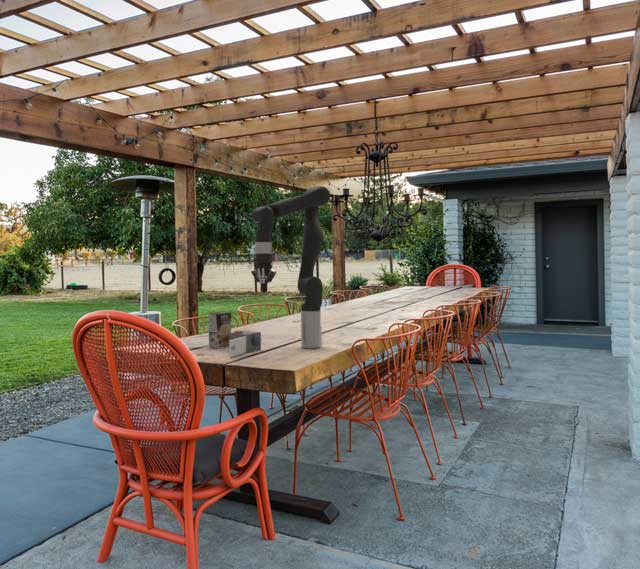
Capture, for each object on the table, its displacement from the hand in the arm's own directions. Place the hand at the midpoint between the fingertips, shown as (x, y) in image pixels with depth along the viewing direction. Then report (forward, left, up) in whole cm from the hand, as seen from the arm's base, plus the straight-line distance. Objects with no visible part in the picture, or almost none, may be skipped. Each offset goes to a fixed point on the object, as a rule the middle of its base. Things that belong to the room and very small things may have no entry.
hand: (264, 292), depth 246 cm
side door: (+10, -7, -27) cm, 29 cm away
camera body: (-2, -13, -27) cm, 30 cm away
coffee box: (-3, -30, -27) cm, 41 cm away
